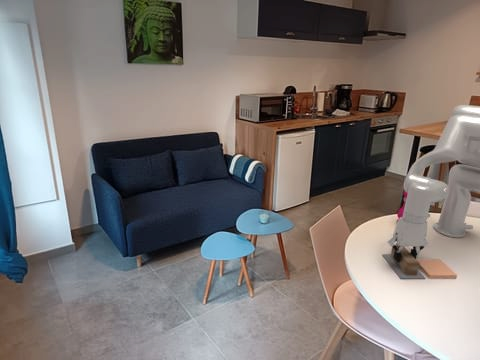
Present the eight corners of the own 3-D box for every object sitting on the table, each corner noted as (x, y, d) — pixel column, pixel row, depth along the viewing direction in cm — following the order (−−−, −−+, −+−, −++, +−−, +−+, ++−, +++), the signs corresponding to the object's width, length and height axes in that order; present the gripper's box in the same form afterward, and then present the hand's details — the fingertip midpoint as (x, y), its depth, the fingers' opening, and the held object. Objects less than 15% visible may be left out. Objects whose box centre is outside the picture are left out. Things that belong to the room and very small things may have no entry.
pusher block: (390, 256, 129) (392, 245, 128) (400, 256, 130) (402, 245, 128) (405, 275, 118) (408, 263, 116) (416, 275, 118) (419, 263, 117)
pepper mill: (414, 229, 153) (424, 188, 146) (397, 227, 154) (406, 187, 147) (409, 222, 159) (419, 183, 152) (394, 220, 161) (402, 181, 154)
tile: (414, 259, 126) (429, 275, 117) (440, 259, 127) (457, 275, 117) (413, 263, 127) (428, 279, 118) (438, 263, 128) (455, 279, 118)
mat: (404, 255, 131) (404, 254, 131) (425, 279, 117) (425, 278, 117) (382, 255, 131) (382, 254, 131) (400, 279, 117) (401, 277, 117)
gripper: (431, 212, 121) (420, 254, 127) (386, 211, 120) (377, 254, 126) (444, 221, 114) (432, 266, 120) (396, 221, 113) (386, 266, 119)
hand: (404, 259), depth 123 cm, fingers open, 5 cm apart
